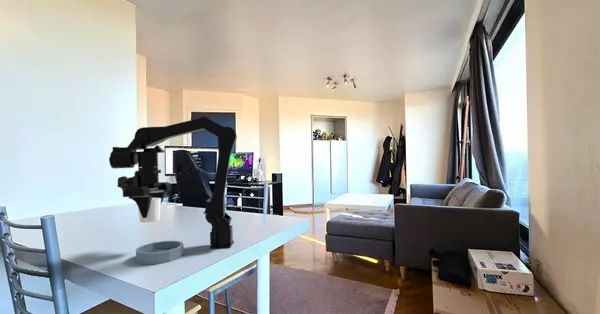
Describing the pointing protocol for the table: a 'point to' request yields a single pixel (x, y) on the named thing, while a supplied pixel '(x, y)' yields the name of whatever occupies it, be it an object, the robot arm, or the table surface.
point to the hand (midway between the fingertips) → (150, 215)
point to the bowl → (159, 252)
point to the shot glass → (152, 211)
